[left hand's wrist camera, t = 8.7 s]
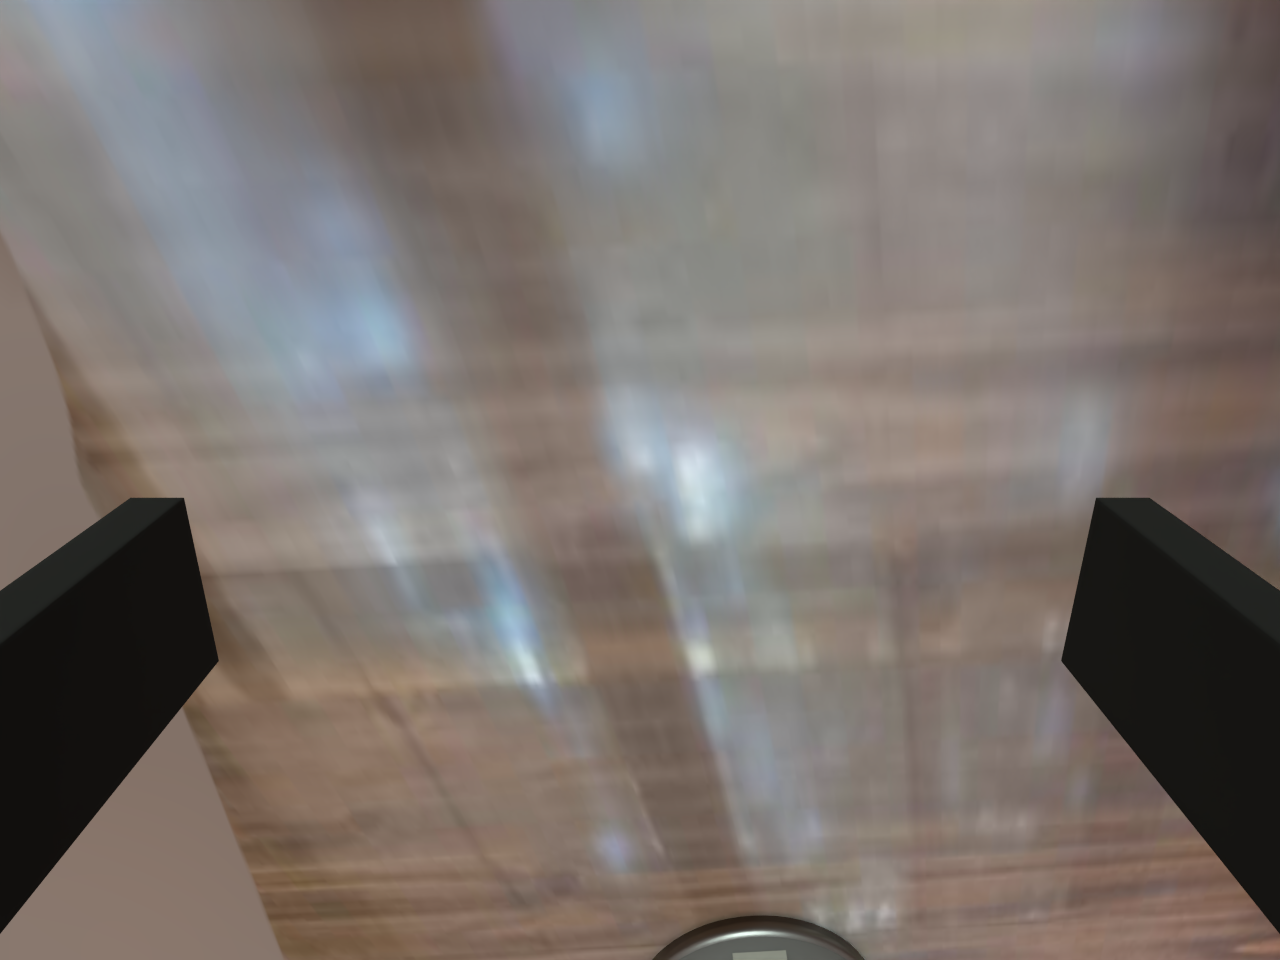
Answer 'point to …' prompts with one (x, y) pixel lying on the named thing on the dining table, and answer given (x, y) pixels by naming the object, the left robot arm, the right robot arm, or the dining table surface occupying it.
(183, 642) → the left robot arm
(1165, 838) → the dining table surface
